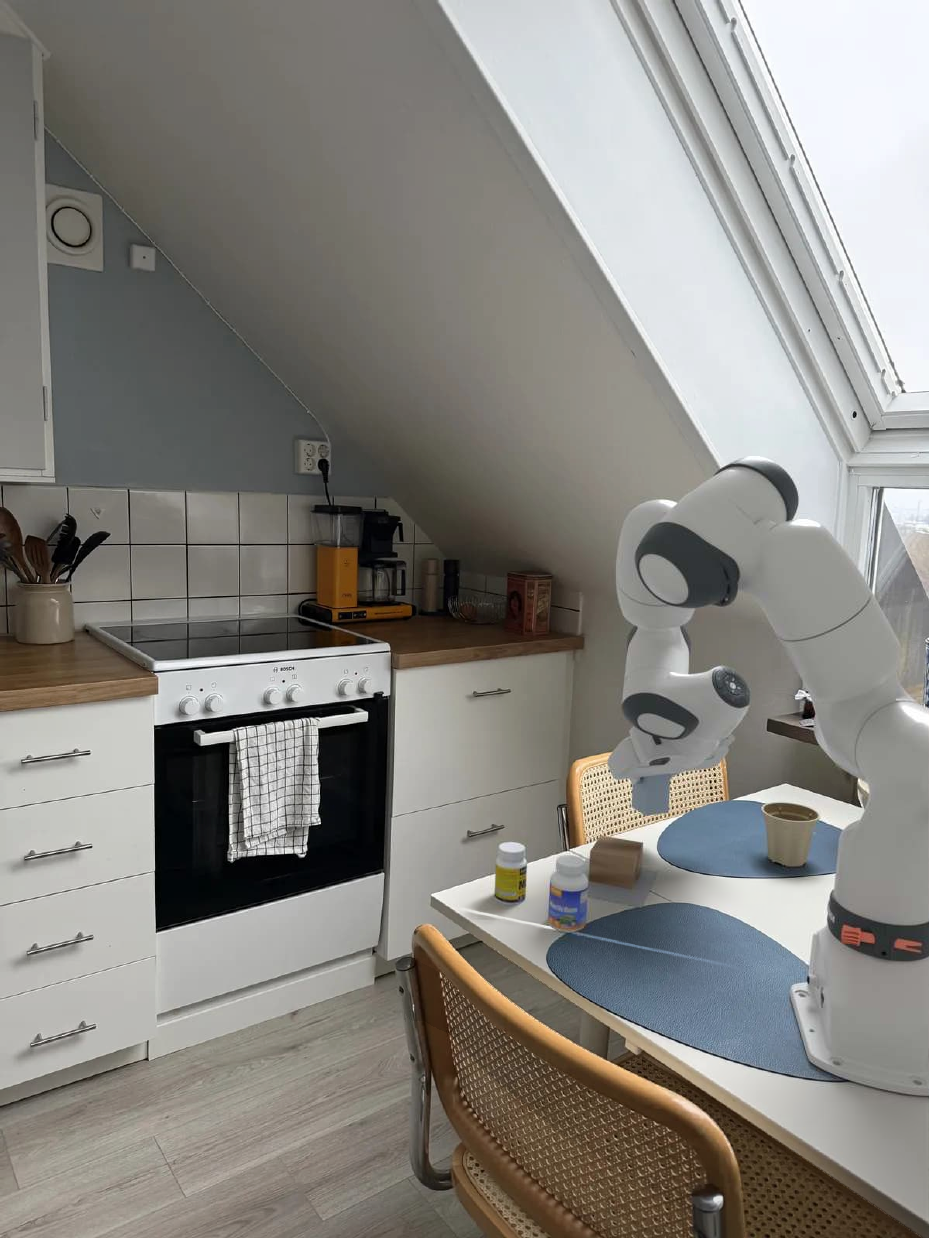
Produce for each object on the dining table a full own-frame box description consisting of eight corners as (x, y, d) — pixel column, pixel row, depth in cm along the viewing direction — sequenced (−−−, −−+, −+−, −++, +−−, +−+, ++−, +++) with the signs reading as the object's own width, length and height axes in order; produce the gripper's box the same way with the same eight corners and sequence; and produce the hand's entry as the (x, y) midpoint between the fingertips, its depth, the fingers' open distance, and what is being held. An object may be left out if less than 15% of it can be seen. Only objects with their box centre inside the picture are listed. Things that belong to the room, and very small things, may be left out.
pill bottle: (542, 928, 131) (545, 863, 130) (555, 912, 136) (557, 850, 135) (579, 937, 129) (582, 871, 127) (590, 920, 134) (594, 857, 132)
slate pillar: (668, 812, 157) (671, 755, 155) (645, 815, 155) (648, 758, 154) (654, 803, 161) (656, 748, 160) (631, 806, 160) (634, 750, 158)
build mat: (641, 910, 138) (641, 907, 138) (563, 894, 142) (563, 892, 142) (658, 873, 150) (658, 871, 150) (586, 860, 155) (586, 858, 155)
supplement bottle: (523, 908, 137) (525, 854, 136) (491, 904, 138) (493, 851, 137) (527, 894, 142) (529, 842, 140) (497, 890, 143) (498, 839, 141)
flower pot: (745, 853, 160) (749, 805, 158) (787, 845, 163) (791, 798, 162) (785, 875, 151) (789, 824, 150) (828, 866, 155) (832, 817, 154)
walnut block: (632, 889, 143) (634, 858, 143) (588, 880, 146) (590, 850, 145) (641, 871, 150) (643, 842, 149) (599, 864, 152) (600, 835, 152)
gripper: (731, 716, 153) (693, 755, 163) (623, 726, 145) (591, 767, 156) (747, 749, 149) (707, 788, 160) (637, 762, 142) (603, 802, 153)
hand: (649, 778), depth 158 cm, fingers closed on slate pillar, 4 cm apart
